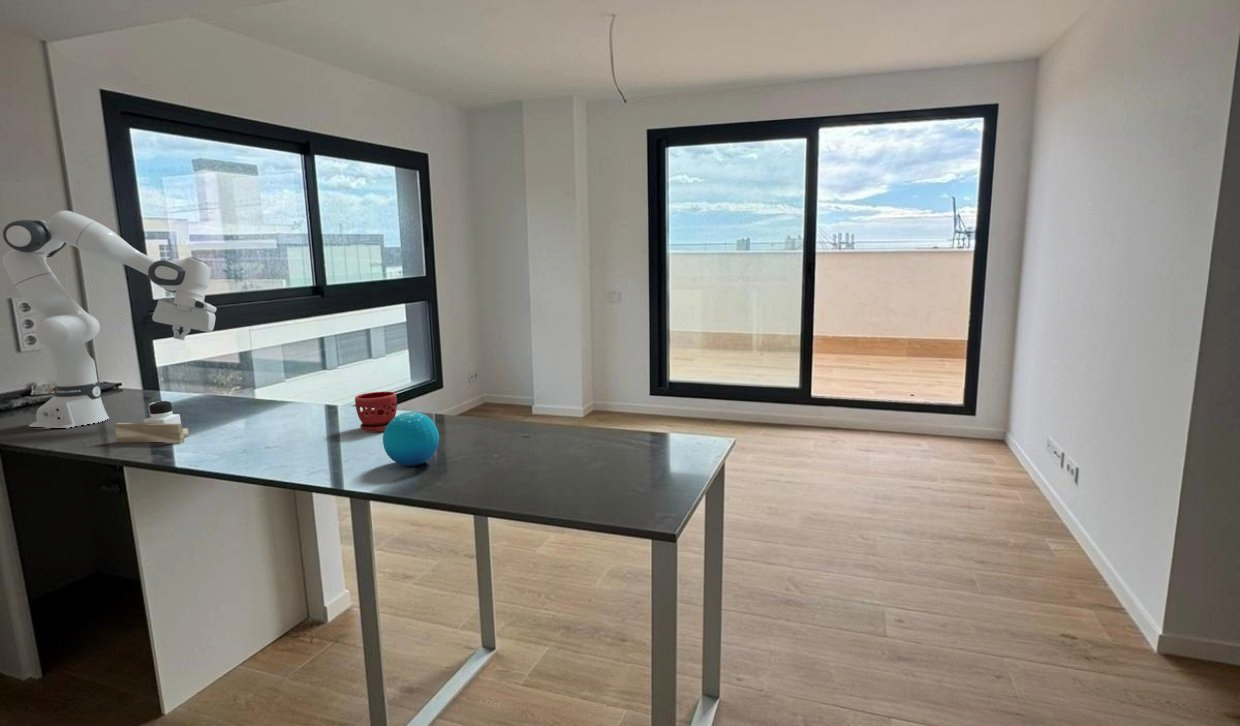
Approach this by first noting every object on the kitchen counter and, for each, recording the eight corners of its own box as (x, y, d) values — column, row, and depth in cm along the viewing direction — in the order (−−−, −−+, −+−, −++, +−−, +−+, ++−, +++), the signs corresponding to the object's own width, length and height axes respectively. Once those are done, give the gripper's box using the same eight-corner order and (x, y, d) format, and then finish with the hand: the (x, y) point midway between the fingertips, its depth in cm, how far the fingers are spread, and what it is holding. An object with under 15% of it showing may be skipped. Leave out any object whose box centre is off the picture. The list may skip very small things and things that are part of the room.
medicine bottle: (182, 434, 213) (178, 399, 211) (166, 441, 206) (161, 404, 204) (162, 434, 214) (158, 399, 211) (145, 440, 206) (140, 404, 204)
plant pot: (405, 424, 223) (403, 390, 221) (385, 434, 210) (383, 399, 208) (371, 422, 225) (368, 389, 223) (349, 433, 212) (346, 398, 210)
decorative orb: (431, 453, 190) (428, 403, 187) (447, 466, 177) (444, 414, 175) (379, 462, 182) (375, 411, 179) (392, 477, 170) (387, 422, 167)
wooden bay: (138, 435, 213) (136, 417, 212) (199, 436, 211) (197, 418, 210) (117, 442, 205) (114, 424, 204) (180, 443, 203) (178, 425, 202)
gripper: (153, 294, 229) (143, 332, 227) (211, 306, 230) (201, 343, 228) (165, 298, 235) (155, 334, 233) (221, 309, 236) (211, 345, 234)
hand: (178, 339), depth 231 cm, fingers closed
